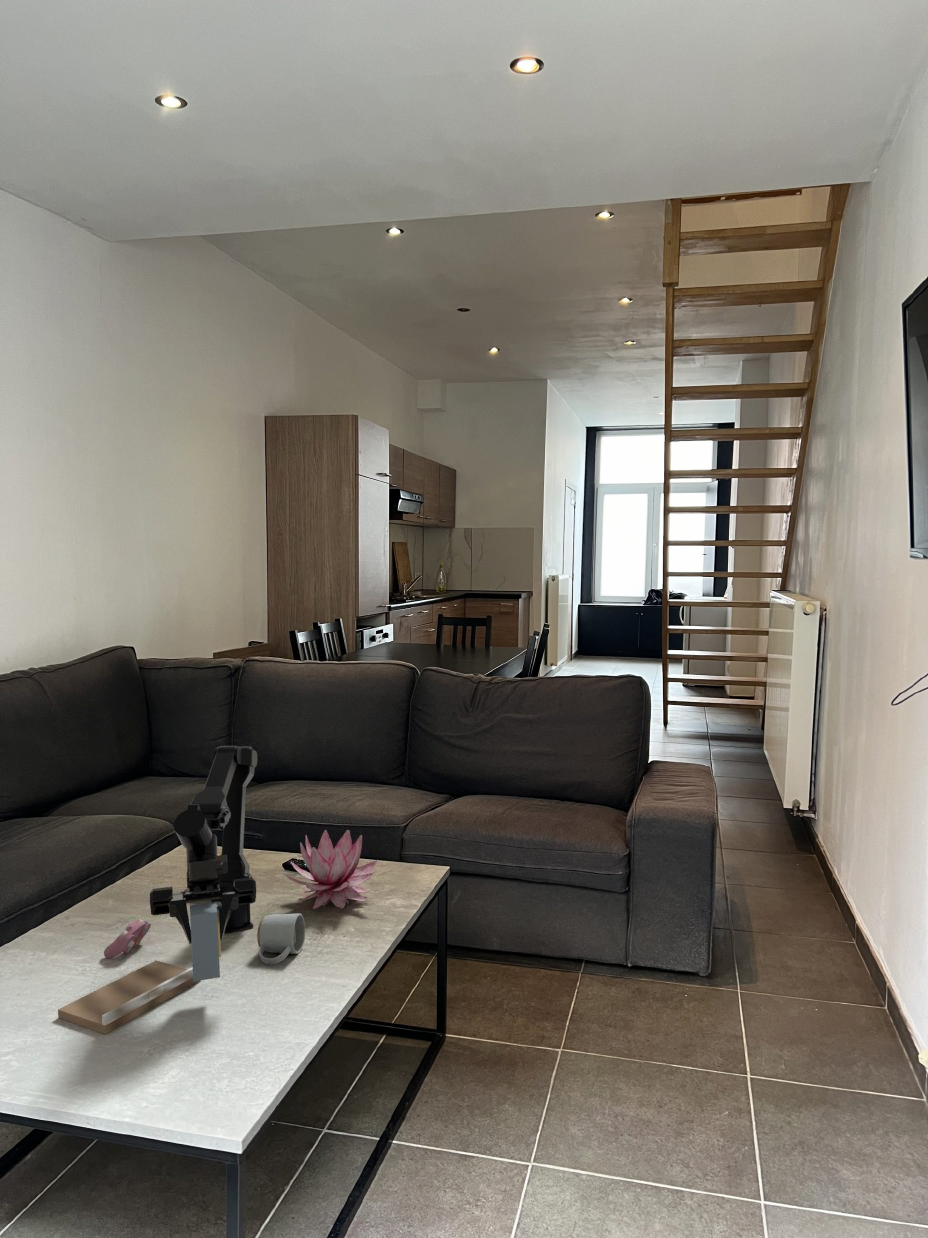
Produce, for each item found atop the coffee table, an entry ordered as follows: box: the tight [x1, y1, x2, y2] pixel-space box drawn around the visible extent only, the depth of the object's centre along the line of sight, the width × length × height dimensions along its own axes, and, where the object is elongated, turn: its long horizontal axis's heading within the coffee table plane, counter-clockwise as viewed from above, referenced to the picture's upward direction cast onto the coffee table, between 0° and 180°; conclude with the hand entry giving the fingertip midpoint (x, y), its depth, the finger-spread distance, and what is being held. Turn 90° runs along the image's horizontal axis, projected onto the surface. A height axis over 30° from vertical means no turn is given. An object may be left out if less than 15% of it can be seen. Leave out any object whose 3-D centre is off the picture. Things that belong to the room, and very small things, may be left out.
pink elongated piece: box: [103, 918, 152, 959], centre depth 184 cm, size 10×5×7 cm, turn 169°
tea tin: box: [189, 901, 222, 982], centre depth 162 cm, size 5×5×12 cm
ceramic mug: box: [256, 912, 306, 966], centre depth 181 cm, size 11×8×8 cm
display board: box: [57, 959, 202, 1035], centre depth 163 cm, size 22×12×3 cm, turn 151°
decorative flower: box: [284, 829, 379, 910], centre depth 210 cm, size 21×21×15 cm
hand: (205, 941), depth 160 cm, fingers closed on tea tin, 5 cm apart
